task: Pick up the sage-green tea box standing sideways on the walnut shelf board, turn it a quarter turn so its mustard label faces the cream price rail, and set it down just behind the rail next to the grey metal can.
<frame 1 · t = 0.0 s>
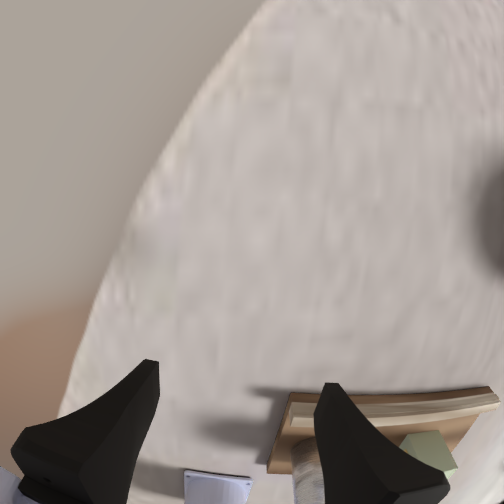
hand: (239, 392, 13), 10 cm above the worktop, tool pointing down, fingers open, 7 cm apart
metal can: (315, 450, 26), point 1 cm above the worktop, touching shelf board
shelf board: (386, 433, 27), on the worktop
tea box: (411, 448, 27), point 1 cm above the worktop, touching shelf board
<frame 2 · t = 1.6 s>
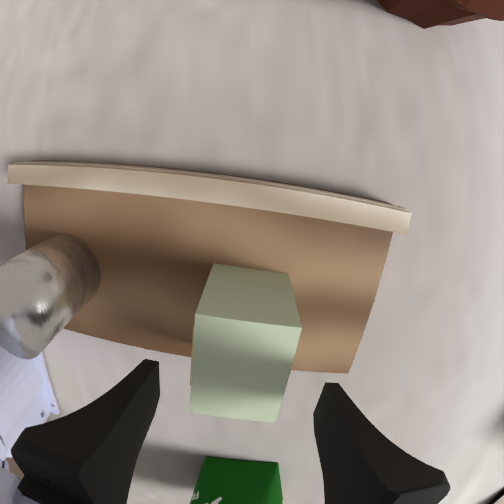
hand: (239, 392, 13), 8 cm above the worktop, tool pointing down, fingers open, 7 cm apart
metal can: (69, 269, 19), point 1 cm above the worktop, touching shelf board
milk carton: (238, 474, 27), on the worktop
shelf board: (186, 267, 20), on the worktop
tea box: (244, 313, 19), point 1 cm above the worktop, touching shelf board
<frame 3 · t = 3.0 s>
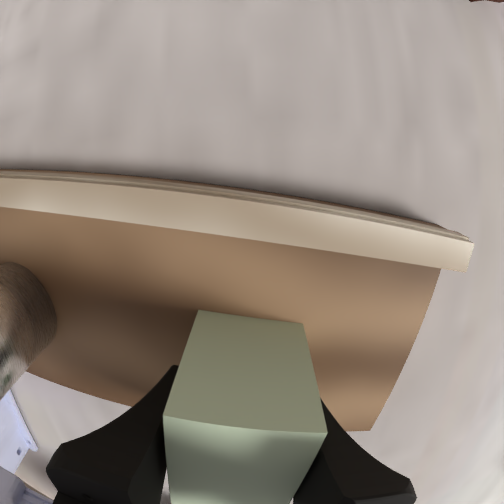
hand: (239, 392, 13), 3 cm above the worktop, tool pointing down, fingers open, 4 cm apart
metal can: (21, 306, 13), point 1 cm above the worktop, touching shelf board
shelf board: (163, 309, 14), on the worktop
tea box: (241, 372, 14), point 1 cm above the worktop, touching gripper, shelf board
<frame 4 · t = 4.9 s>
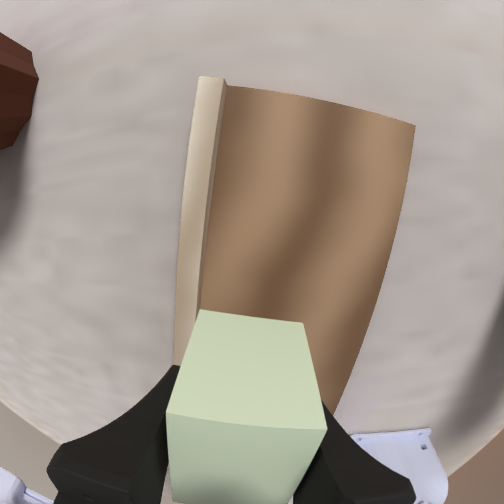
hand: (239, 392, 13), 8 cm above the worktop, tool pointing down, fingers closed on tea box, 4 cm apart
shelf board: (279, 296, 20), on the worktop
muffin: (0, 98, 16), on the worktop
tea box: (242, 370, 14), point 7 cm above the worktop, touching gripper
when the fingers open (4 cm above the worktop, at t = 6.5 s): tea box stays where it is, resting on shelf board.
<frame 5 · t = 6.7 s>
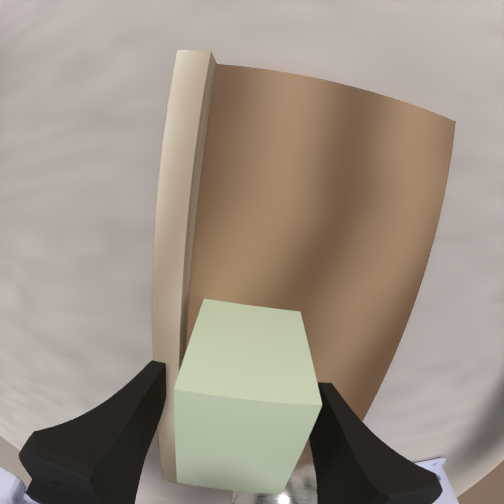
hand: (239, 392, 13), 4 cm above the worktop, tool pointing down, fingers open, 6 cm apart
metal can: (275, 444, 17), point 1 cm above the worktop, touching shelf board
shelf board: (284, 332, 16), on the worktop
tea box: (243, 358, 15), point 1 cm above the worktop, touching shelf board
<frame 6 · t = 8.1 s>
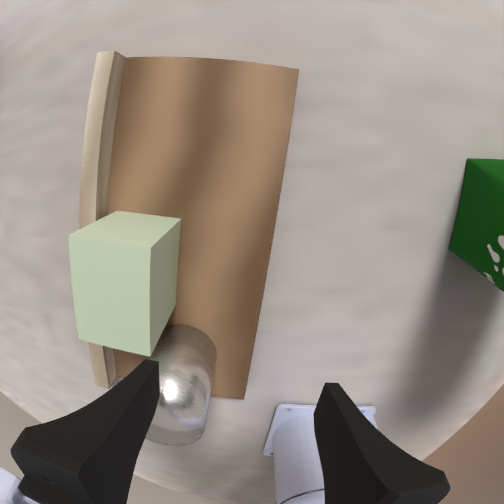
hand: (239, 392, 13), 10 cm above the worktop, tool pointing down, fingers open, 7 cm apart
metal can: (183, 352, 22), point 1 cm above the worktop, touching shelf board
milk carton: (486, 213, 20), on the worktop
shelf board: (179, 242, 21), on the worktop
tea box: (145, 259, 20), point 1 cm above the worktop, touching shelf board
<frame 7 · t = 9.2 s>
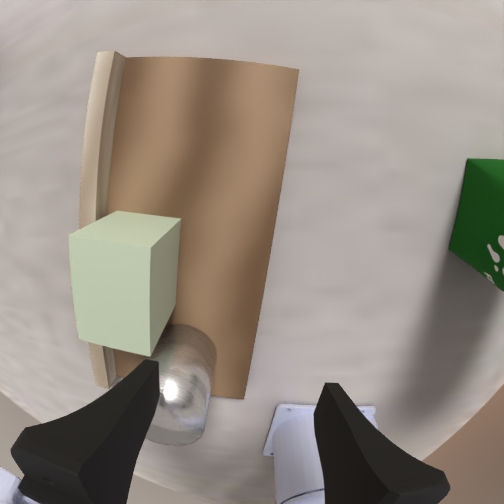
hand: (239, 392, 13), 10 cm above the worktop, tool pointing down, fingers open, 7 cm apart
metal can: (183, 352, 22), point 1 cm above the worktop, touching shelf board
milk carton: (486, 213, 20), on the worktop
shelf board: (179, 242, 21), on the worktop
tea box: (145, 259, 20), point 1 cm above the worktop, touching shelf board
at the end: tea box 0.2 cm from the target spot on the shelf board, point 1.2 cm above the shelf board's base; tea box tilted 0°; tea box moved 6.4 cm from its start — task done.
